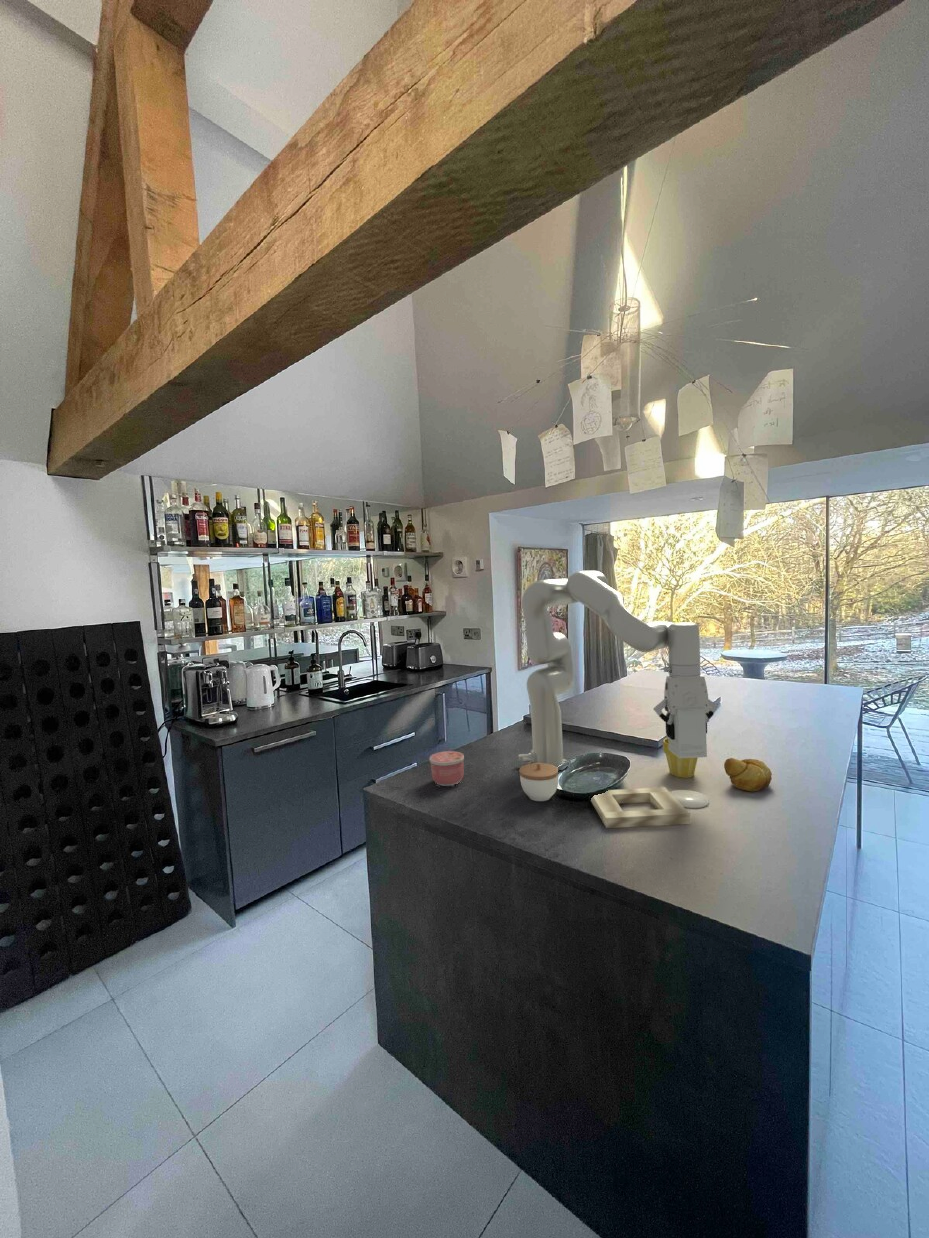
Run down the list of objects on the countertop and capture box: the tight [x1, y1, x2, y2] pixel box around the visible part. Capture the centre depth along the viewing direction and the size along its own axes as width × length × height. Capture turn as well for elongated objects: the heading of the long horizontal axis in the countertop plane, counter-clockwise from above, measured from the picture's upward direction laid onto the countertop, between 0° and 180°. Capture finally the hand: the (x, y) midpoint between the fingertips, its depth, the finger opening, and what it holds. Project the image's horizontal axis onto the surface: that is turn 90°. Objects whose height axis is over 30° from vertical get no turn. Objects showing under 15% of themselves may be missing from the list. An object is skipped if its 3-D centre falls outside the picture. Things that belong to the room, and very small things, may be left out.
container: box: [429, 750, 465, 785], centre depth 157 cm, size 10×10×8 cm
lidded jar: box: [518, 763, 559, 802], centre depth 142 cm, size 11×11×9 cm
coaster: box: [669, 789, 710, 809], centre depth 136 cm, size 10×10×1 cm
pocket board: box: [590, 786, 691, 829], centre depth 131 cm, size 20×16×2 cm
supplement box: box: [667, 708, 708, 759], centre depth 134 cm, size 7×7×13 cm
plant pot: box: [662, 737, 698, 779], centre depth 153 cm, size 10×10×10 cm
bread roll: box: [723, 757, 773, 792], centre depth 142 cm, size 13×10×8 cm
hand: (686, 736), depth 134 cm, fingers closed on supplement box, 7 cm apart
